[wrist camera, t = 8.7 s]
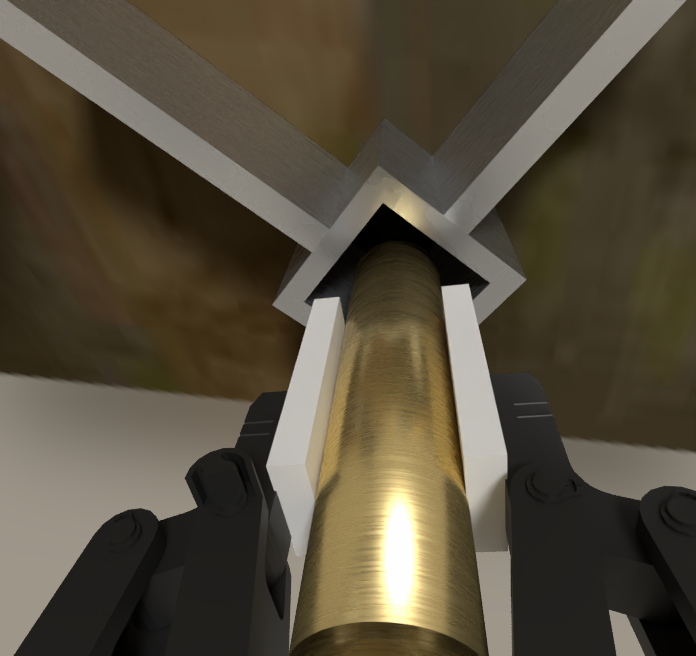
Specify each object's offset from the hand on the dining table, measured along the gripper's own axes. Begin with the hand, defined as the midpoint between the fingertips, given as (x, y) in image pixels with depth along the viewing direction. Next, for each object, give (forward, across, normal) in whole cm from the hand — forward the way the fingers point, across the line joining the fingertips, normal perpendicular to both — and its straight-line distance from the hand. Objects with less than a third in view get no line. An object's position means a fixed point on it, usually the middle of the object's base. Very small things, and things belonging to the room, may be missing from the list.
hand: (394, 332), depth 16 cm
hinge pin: (+4, 0, 0) cm, 4 cm away
